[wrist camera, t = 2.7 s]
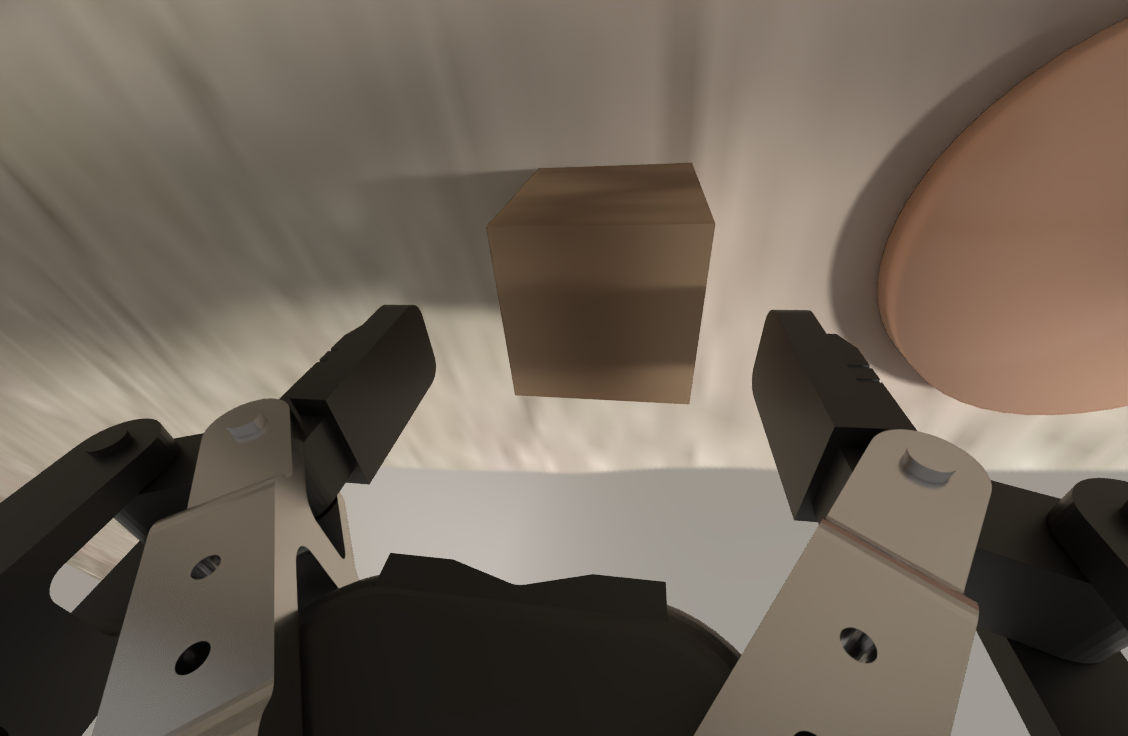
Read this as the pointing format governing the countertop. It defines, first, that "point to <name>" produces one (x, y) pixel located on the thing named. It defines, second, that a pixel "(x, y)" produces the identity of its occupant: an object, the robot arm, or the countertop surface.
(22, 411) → the countertop surface
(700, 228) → the walnut block
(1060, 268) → the dish
